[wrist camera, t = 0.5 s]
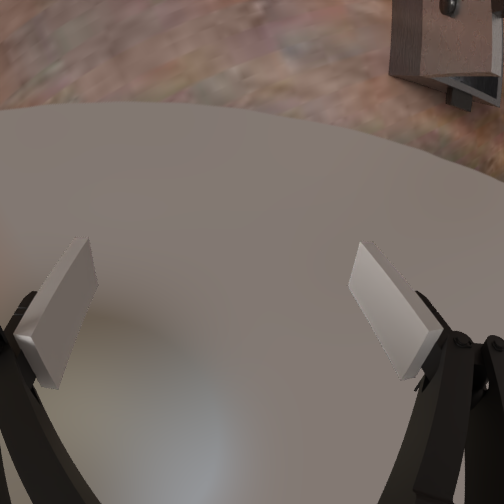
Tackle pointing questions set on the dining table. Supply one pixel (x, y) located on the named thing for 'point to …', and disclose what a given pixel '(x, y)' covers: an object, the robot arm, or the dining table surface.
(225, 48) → the dining table surface
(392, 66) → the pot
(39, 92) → the dining table surface
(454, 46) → the lid
